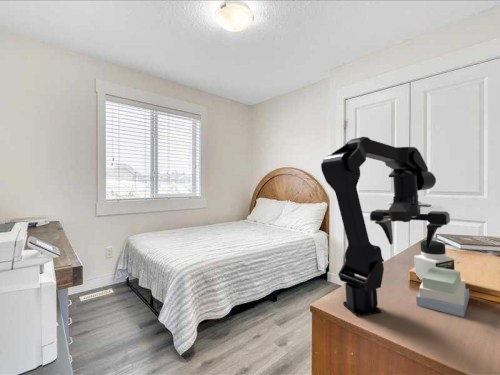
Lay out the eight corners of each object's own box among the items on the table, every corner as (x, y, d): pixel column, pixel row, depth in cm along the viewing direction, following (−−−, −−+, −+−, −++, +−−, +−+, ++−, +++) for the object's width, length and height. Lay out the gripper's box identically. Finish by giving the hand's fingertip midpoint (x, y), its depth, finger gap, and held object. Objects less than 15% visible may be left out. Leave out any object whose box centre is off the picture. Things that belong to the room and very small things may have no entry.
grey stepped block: (464, 317, 56) (463, 297, 56) (416, 304, 63) (415, 287, 62) (469, 297, 64) (468, 280, 64) (427, 288, 71) (426, 272, 71)
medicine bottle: (437, 286, 71) (434, 245, 71) (414, 278, 78) (412, 240, 78) (455, 282, 73) (453, 241, 73) (432, 274, 80) (430, 237, 80)
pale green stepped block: (432, 275, 69) (432, 266, 69) (460, 280, 64) (460, 271, 64) (422, 287, 62) (422, 277, 62) (453, 294, 58) (453, 283, 58)
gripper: (361, 195, 73) (364, 248, 73) (440, 194, 59) (444, 259, 60) (375, 192, 80) (378, 240, 81) (448, 190, 67) (451, 248, 67)
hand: (408, 246), depth 72 cm, fingers open, 9 cm apart
